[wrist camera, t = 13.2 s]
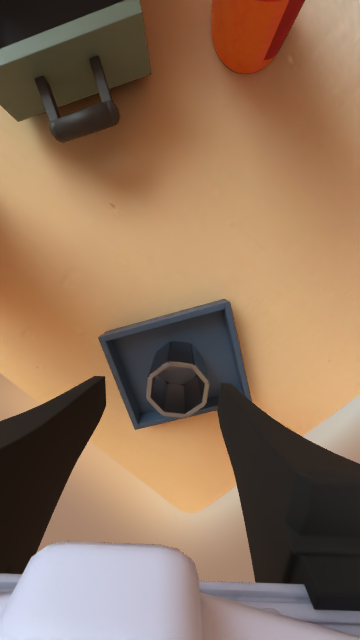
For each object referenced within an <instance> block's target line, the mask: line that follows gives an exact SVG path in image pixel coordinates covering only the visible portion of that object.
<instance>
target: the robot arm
mask: <svg viewBox="0 0 360 640" xmlns="http://www.w3.org/2000/svg"><path fill="white" fill-rule="evenodd" d="M105 407H106V388H105V377H104V376H94V377H92V378H90V379H88V380H86V381H85V382H83V383H81V384H79V385H78V386H76V387H74V388H72V389H71V390H69V391H67V392H65V393H63V394H61V395H60V396H58V397H56V398H54V399H52V400H50V401H48V402H46V403H44V404H42V405H40V406H38V407H35V408H33V409H31V410H28V411H26V412H24V413H21V414H19V415H16V416H13V417H10V418H8V419H5V420H2V421H0V640H360V464H358V463H356V462H354V461H351V460H349V459H346V458H344V457H342V456H340V455H337V454H335V453H333V452H331V451H329V450H327V449H325V448H323V447H321V446H319V445H316V444H315V443H313V442H311V441H309V440H307V439H305V438H303V437H302V436H300V435H298V434H296V433H295V432H293V431H291V430H290V429H288V428H286V427H285V426H283V425H282V424H280V423H279V422H277V421H276V420H274V419H273V418H272V417H270V416H269V415H267V414H266V413H265V412H264V411H262V410H261V409H260V408H258V407H257V406H256V405H255V404H254V403H252V402H251V401H250V400H249V399H248V398H247V397H246V396H244V395H243V394H242V393H241V392H240V391H239V390H238V389H237V388H235V387H234V386H233V385H232V384H231V383H221V387H220V395H219V403H218V410H217V412H218V418H219V423H220V428H221V431H222V435H223V438H224V441H225V444H226V448H227V451H228V454H229V457H230V460H231V464H232V467H233V471H234V474H235V478H236V483H237V488H238V492H239V496H240V502H241V506H242V511H243V516H244V521H245V526H246V532H247V537H248V542H249V548H250V553H251V559H252V565H253V570H254V575H255V582H256V583H250V582H248V583H247V582H223V581H199V578H198V573H197V570H196V566H195V563H194V562H193V561H192V559H191V558H189V557H188V556H187V555H186V554H184V553H183V552H182V551H180V550H179V549H177V548H172V547H168V546H164V545H155V544H130V543H105V542H79V541H67V542H60V543H54V544H50V545H48V546H46V547H45V548H43V549H42V550H41V551H39V552H38V553H36V552H37V550H38V547H39V545H40V543H41V540H42V538H43V535H44V533H45V531H46V528H47V526H48V523H49V521H50V519H51V516H52V514H53V512H54V509H55V507H56V505H57V503H58V500H59V498H60V496H61V493H62V491H63V489H64V487H65V484H66V482H67V480H68V478H69V476H70V474H71V472H72V470H73V468H74V466H75V464H76V462H77V460H78V458H79V456H80V455H81V453H82V451H83V449H84V448H85V446H86V444H87V442H88V441H89V439H90V437H91V435H92V434H93V432H94V430H95V428H96V427H97V425H98V423H99V421H100V419H101V417H102V414H103V412H104V409H105Z"/></svg>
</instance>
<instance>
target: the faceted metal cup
mask: <svg viewBox="0 0 360 640" xmlns="http://www.w3.org/2000/svg"><path fill="white" fill-rule="evenodd" d="M209 384H210V383H209V380H208V376H207V373H206V369H205V365H204V362H203V358H202V356H201V355H200V354H199V352H198V351H197V350H196V349H195V348H194V346H193V345H192V344H190V343H186V342H177V341H172V342H169V343H167V344H166V345H165V346H163V347H162V348H161V349H159V350H158V351H157V352H156V353H155V356H154V359H153V363H152V366H151V369H150V372H149V375H148V380H147V392H146V398H147V400H148V401H149V402H150V404H151V405H152V406H153V407H154V408H155V409H156V410H157V411H158V412H159V413H160V414H161V415H162V414H163V416H170V417H180V418H185V417H189V416H190V415H192V414H193V413H195V412H196V411H198V410H199V409H201V408H202V407H204V406H205V404H206V402H207V396H208V390H209Z"/></svg>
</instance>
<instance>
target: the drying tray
mask: <svg viewBox="0 0 360 640" xmlns="http://www.w3.org/2000/svg"><path fill="white" fill-rule="evenodd" d="M98 338H99V341H100V343H101V346H102V348H103V351H104V353H105V356H106V358H107V361H108V364H109V366H110V369H111V371H112V374H113V376H114V379H115V381H116V384H117V386H118V389H119V391H120V394H121V396H122V399H123V401H124V404H125V406H126V409H127V411H128V414H129V416H130V419H131V421H132V424H133V426H134V429H135V430H136V429H141V428H145V427H149V426H153V425H157V424H161V423H166V422H170V421H174V420H178V419H182V418H180V417H170V416H163V414H162V415H161V414H160V413H159V412H158V411H157V410H156V409H155V408H154V407H153V406H152V405H151V404H150V402H149V401H148V400H147V398H146V392H147V380H148V375H149V372H150V369H151V366H152V363H153V359H154V356H155V353H156V352H157V351H158V350H159V349H161V348H162V347H163V346H165V345H166V344H167V343H169V342H172V341H177V342H186V343H190V344H192V345H193V346H194V348H195V349H196V350H197V351H198V352H199V354H200V355H201V356H202V358H203V362H204V365H205V369H206V373H207V376H208V380H209V383H210V384H209V390H208V396H207V402H206V404H205V406H204V407H202V408H201V409H199V410H198V411H196V412H195V413H193V414H192V415H190V416H189V417H191V416H195V415H199V414H203V413H207V412H212V411H216V410H218V403H219V395H220V387H221V383H231V384H232V385H233V386H234V387H235V388H237V389H238V390H239V391H240V392H241V393H242V394H243V395H244V396H246V397H247V398H248V399H249V400H250V401H251V402H252V400H251V396H250V391H249V387H248V382H247V377H246V373H245V368H244V364H243V359H242V355H241V350H240V346H239V341H238V337H237V332H236V328H235V323H234V318H233V314H232V309H231V305H230V302H229V301H227V300H226V299H222V300H219V301H215V302H212V303H208V304H204V305H201V306H197V307H193V308H190V309H186V310H183V311H179V312H175V313H172V314H168V315H164V316H161V317H157V318H154V319H150V320H146V321H143V322H139V323H135V324H132V325H128V326H125V327H121V328H117V329H114V330H110V331H106V332H105V333H104V334H102V335H101V336H100V337H98ZM185 418H187V417H185Z"/></svg>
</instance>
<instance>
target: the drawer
mask: <svg viewBox="0 0 360 640" xmlns="http://www.w3.org/2000/svg"><path fill="white" fill-rule="evenodd" d="M150 74H151V69H150V62H149V55H148V48H147V41H146V34H145V27H144V20H143V13H142V8H141V4H140V0H0V105H1V106H2V107H3V108H4V109H5V110H6V111H7V112H8V113H9V114H10V115H11V116H13V117H14V118H15V119H16V120H17V121H18V122H19V121H22V120H25V119H28V118H30V117H33V116H36V115H39V114H42V113H44V112H46V113H47V116H48V118H49V121H50V131H51V134H52V135H53V137H54V138H55V139H56V140H57V141H59V142H61V143H65V142H68V141H71V140H74V139H77V138H80V137H82V136H85V135H88V134H91V133H94V132H97V131H100V130H103V129H106V128H108V127H111V126H114V125H116V124H117V123H118V122H119V118H120V115H119V110H118V108H117V106H116V105H115V104H114V103H113V101H112V97H111V94H110V90H109V89H111V88H114V87H116V86H119V85H122V84H125V83H128V82H130V81H133V80H136V79H139V78H141V77H144V76H147V75H150ZM97 93H99V94H100V97H101V101H102V103H100V104H97V105H94V106H91V107H88V108H85V109H83V110H80V111H77V112H74V113H71V114H69V115H66V116H63V117H61V116H60V113H59V110H58V107H61V106H64V105H67V104H69V103H72V102H75V101H78V100H80V99H83V98H86V97H89V96H92V95H94V94H97Z"/></svg>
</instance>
